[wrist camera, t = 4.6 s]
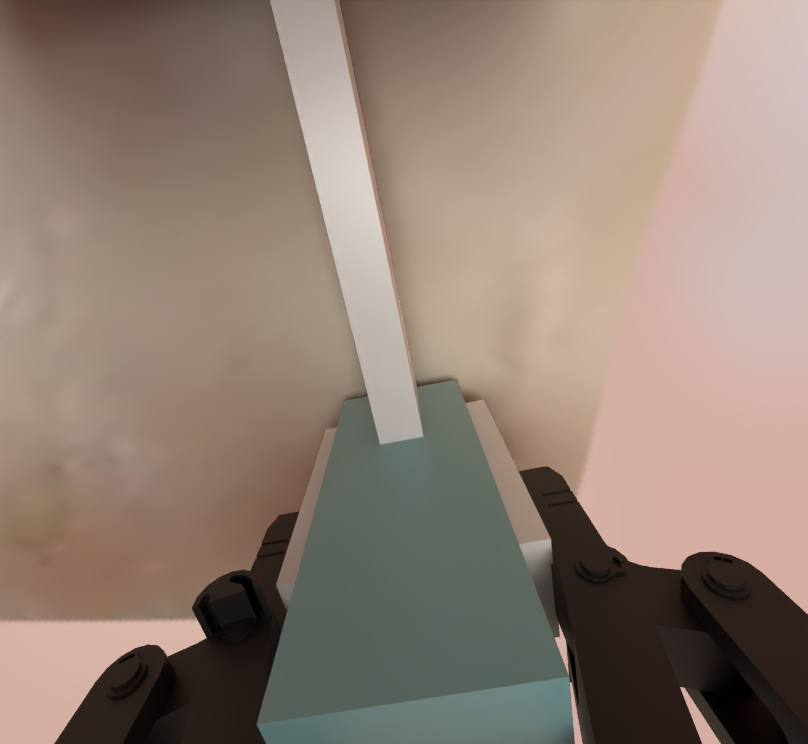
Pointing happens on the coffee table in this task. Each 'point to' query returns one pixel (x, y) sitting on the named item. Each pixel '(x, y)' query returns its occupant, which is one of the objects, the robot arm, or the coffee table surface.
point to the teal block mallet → (398, 502)
